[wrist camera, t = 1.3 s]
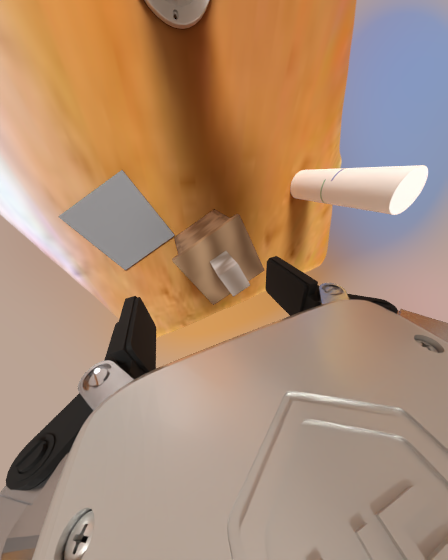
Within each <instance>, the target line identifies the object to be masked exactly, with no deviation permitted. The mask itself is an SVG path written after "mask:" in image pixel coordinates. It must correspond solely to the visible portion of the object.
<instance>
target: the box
mask: <svg viewBox="0 0 448 560" xmlns="http://www.w3.org/2000/svg"><path fill="white" fill-rule="evenodd" d="M228 219H230V218H229V217H227V216H225V215H223V214H222V213H220V212H218V211H217V210H215V209H214V210H212V211H211V212H210V213H208V214H207V215H205V216H204V217H202V218H201V219H200V220H198V221H197V222H195V223H194V224H193V225H191V226H190V227H188V228H187V229H186V230H184V231H183V232H181V233H180V234H178V235H177V236H176V237H174V239H175V242H176V246H177V250H178V254H180V253H181V252H183V251H184V250H186V249H187V248H189V247H190V246H191V245H193V244H194V243H196V242H197V241H198V240H200V239H201V238H203V237H204V236H206V235H207V234H208V233H210V232H211V231H213V230H214V229H216V228H217V227H218V226H220V225H221V224H223V223H224V222H226V221H227V220H228Z"/></svg>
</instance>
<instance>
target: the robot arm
mask: <svg viewBox="0 0 448 560" xmlns="http://www.w3.org/2000/svg"><path fill="white" fill-rule="evenodd" d="M144 1H145V2H146V4H147V5H148V7H149V8H150V9H151V10H152V11H153V12H154V13H155V15H156V16H157V17H158V18H160V19H161V20H162V21H163V22H165V23H166V24H168V25H170V26H172V27H174V28H179V29H185V28H190V27H191V26H193V25H195V24H196V23H197V22H198V21H199V20H200V19H201V18H202V16H203V14H204V13H205V11H206V9H207V6H208V3H209V0H144ZM174 17H176V19H177V20H176V19H174ZM317 284H318V282H317V281H316V280H314V279H312V278H311V277H309V276H308V275H306V274H304V273H303V272H301V271H300V270H298V269H297V268H295V267H293V266H292V265H290V264H289V263H287V262H285V261H284V260H282V259H281V258H279V257H277V256H275V257H272V258H269V260H268V261H267V271H266V291H267V292H268V294H269V295H271V297H272V298H273V299H274V300H275V301H276V302H277V303H278V304H279V305H280V306H281V307H282V308H283V309H284V310H285V311H286V312H287V313H288V314H289V315H290V316H289V317H287V318H284V319H282V320H279V321H276V322H273V323H271V324H268V325H265V326H263V327H260V328H258V329H255V330H253V331H250V332H247V333H245V334H242V335H240V336H237V337H234V338H232V339H229V340H227V341H224V342H222V343H219V344H216V345H214V346H211V347H209V348H206V349H204V350H201V351H198V352H196V353H193V354H191V355H188V356H186V357H183V358H181V359H178V360H176V361H174V362H171V363H169V364H166V365H164V366H161V367H159V368H157V369H156V326H155V324H154V322H153V320H152V318H151V316H150V315H149V313H148V311H147V309H146V307H145V305H144V303H143V302H142V300H141V298H140V297H138V298H137V297H136V296H134V297H130V298H127V299H125V302H124V305H123V309H122V312H121V316H120V319H119V322H118V323H116V325H115V328H114V331H113V334H112V337H111V341H110V344H109V347H108V351H107V354H106V357H105V360H104V361H102V362H99V363H98V364H96V365H94V366H93V367H92V368H90V369H89V370H88V371H87V372H86V373H85V374H84V375H83V377H82V378H81V380H80V382H79V385H78V391H79V394H78V395H77V397H75V398H74V399H73V400H72V401H71V402H70V403H69V404H68V405H67V406H66V407H65V408H64V409H63V410H62V411H61V412H60V413H59V414H58V415H57V416H56V417H55V418H54V419H53V420H52V421H51V422H50V423H49V424H48V425H47V426H46V427H45V428H44V429H43V430H42V431H41V432H40V433H38V434H37V436H35V437H34V438H33V439H32V440H31V441H30V442H29V443H28V444H27V445H26V447H25V448H24V449H23V450H22V451H21V452H20V453H19V455H18V456H17V458H16V459H15V460H14V462H13V463H12V465H11V467H10V469H9V471H8V474H7V478H6V486H5V487H4V488H3V490H2V491H1V492H0V560H448V323H446V322H442V321H439V320H436V319H432V318H429V317H425V316H422V315H419V314H416V313H412V312H409V311H406V310H403V309H400V311H398V310H397V308H396V307H395V306H394V305H392V304H391V303H389V302H387V301H385V300H382V299H377V298H371V297H364V296H358V295H351V294H347V292H346V290H345V289H344V288H343V287H341V286H339V285H337V284H333V283H324V284H321V285H320V286H318V285H317Z"/></svg>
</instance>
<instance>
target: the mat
mask: <svg viewBox="0 0 448 560" xmlns="http://www.w3.org/2000/svg"><path fill="white" fill-rule="evenodd" d="M59 218H61V219H62V220H63V221H64V222H66V223H67V224H68V225H69V226H71V227H72V228H73V229H74V230H76V231H77V232H78V233H79V234H81V235H82V236H83V237H84V238H86V239H87V240H88V241H89V242H91V243H92V244H93V245H94V246H96V247H97V248H98V249H99V250H101V251H102V252H103V253H104V254H106V255H107V256H108V257H109V258H111V259H112V260H113V261H114V262H116V263H117V264H118V265H120V266H121V267H122V268H123V269H125V270H127V269H128V268H129V267H131V266H132V265H134V264H135V263H136V262H138V261H139V260H141V259H142V258H143V257H145V256H146V255H148V254H149V253H151V252H152V251H153V250H155V249H156V248H158V247H159V246H160V245H162V244H163V243H165V242H166V241H168V240H169V239H170V238H172V237H173V236H175V235H174V234H173V232H172V231H171V230H170V229H169V227H168V226H167V225H166V224H165V222H164V221H163V220H162V219H161V217H160V216H159V215H158V214H157V213H156V211H155V210H154V209H153V208H152V206H151V205H150V204H149V203H148V201H147V200H146V199H145V198H144V196H143V195H142V194H141V193H140V191H139V190H138V189H137V188H136V186H135V185H134V184H133V183H132V181H131V180H130V179H129V178H128V177H127V175H126V174H125V173H124V172H123V170H121V171H120V172H119V173H117V174H116V175H114V176H113V177H112V178H110V179H109V180H108V181H106V182H105V183H104V184H102V185H101V186H99V187H98V188H97V189H95V190H94V191H93V192H91V193H90V194H89V195H87V196H86V197H84V198H83V199H82V200H80V201H79V202H78V203H76V204H75V205H74V206H72V207H71V208H69V209H68V210H67V211H65V212H64V213H63V214H61V215H60V216H59Z"/></svg>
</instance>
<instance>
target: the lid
mask: <svg viewBox="0 0 448 560" xmlns="http://www.w3.org/2000/svg"><path fill="white" fill-rule="evenodd" d="M172 260H173V262H174V263H175V264H176V265H177V267H178V268H179V269H180V270H181V271H182V272H183V273H184V274H185V275H186V276H187V277H188V278H189V279H190V280H191V282H192V283H193V284H194V285H195V286H196V287H197V288H198V289H199V290H200V291H201V292H202V293H203V294H204V295H205V297H206V298H207V299H208V300H209V301H210V302H211V303H212V304H213V305H214V304H216V303H217V302H219V301H220V300H222V299H223V298H224V297H226V296H227V295H229V294H230V293H231V294H232V296H233V297H234V296H235V295H237V294H238V293H239V292H241V291H242V290H244V289H245V288H247V287H248V286H250V284H249V282H248V281H249V280H251V279H252V278H254V277H255V276H257V275H258V274H260V273H261V272H262V271H264V268H263V266H262V264H261V262H260V259H259V257H258V255H257V253H256V250H255V248H254V246H253V244H252V242H251V239H250V237H249V235H248V233H247V230H246V228H245V226H244V224H243V222H242V219H241V217H240V215H239V214H236V215H234V216H233V217H231V218H230V219H228V220H227V221H226V222H224V223H223V224H221V225H220V226H218V227H217V228H216V229H214V230H213V231H211V232H210V233H208V234H207V235H206V236H204V237H203V238H201V239H200V240H198V241H197V242H196V243H194V244H193V245H191V246H190V247H189V248H187V249H186V250H184V251H183V252H181V253H180V254H179V255H177V256H176V257H174V258H173V259H172Z"/></svg>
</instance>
